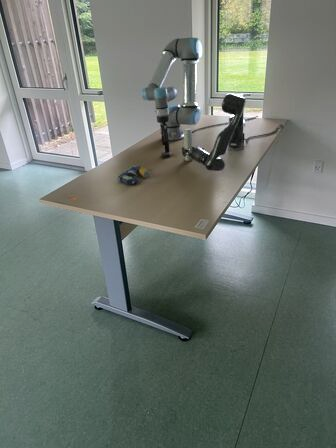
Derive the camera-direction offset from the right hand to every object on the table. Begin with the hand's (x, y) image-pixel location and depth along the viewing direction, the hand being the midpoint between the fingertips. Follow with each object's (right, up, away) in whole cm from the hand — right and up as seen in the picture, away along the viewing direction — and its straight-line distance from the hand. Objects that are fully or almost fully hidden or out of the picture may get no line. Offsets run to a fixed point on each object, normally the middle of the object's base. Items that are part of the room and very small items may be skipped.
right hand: (186, 148), depth 207 cm
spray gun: (-30, -21, -17) cm, 41 cm away
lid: (-13, -2, +8) cm, 16 cm away
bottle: (+2, -7, +1) cm, 7 cm away
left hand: (-13, +1, +7) cm, 15 cm away
